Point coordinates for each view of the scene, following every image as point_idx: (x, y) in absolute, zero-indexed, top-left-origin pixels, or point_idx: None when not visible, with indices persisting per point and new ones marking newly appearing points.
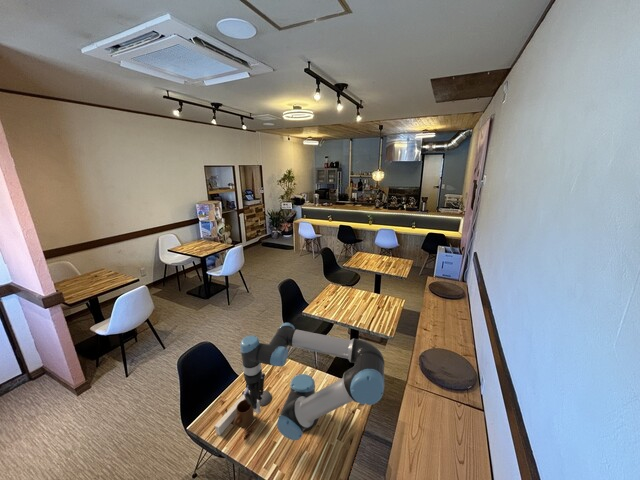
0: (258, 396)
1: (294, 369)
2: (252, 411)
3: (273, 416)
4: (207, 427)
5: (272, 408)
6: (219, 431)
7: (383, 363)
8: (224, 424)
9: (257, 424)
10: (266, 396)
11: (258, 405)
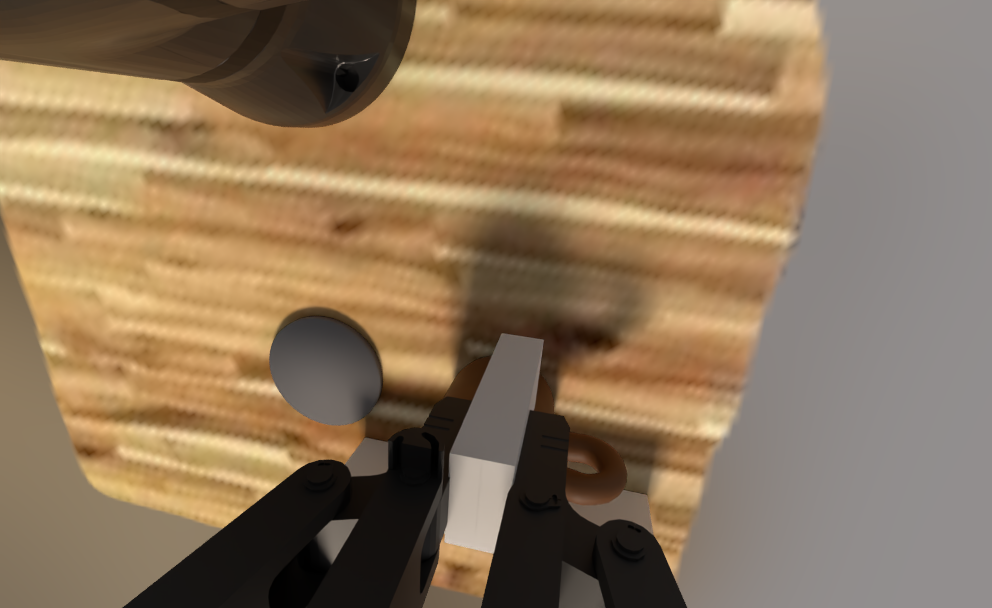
0: (419, 541)
1: (40, 269)
2: (463, 398)
3: (401, 234)
4: None
5: (354, 272)
6: (648, 520)
7: None
8: (601, 518)
9: (497, 313)
10: (304, 355)
11: (505, 408)
